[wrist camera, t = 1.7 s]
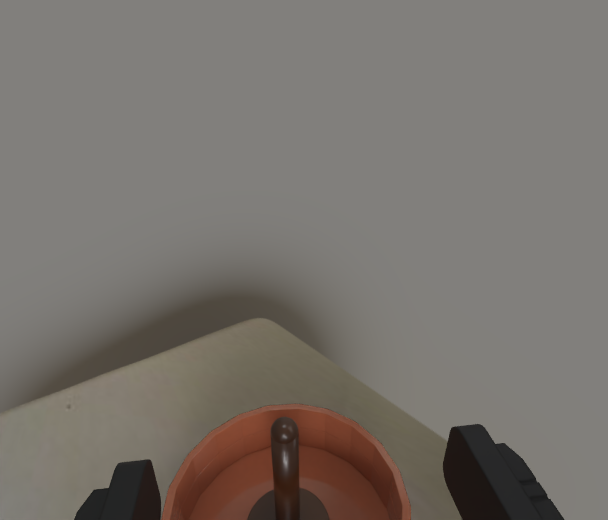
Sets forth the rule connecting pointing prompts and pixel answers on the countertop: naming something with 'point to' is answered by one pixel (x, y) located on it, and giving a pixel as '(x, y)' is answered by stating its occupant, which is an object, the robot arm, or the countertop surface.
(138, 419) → the countertop surface
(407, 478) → the countertop surface
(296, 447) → the paper towel holder
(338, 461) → the bowl
